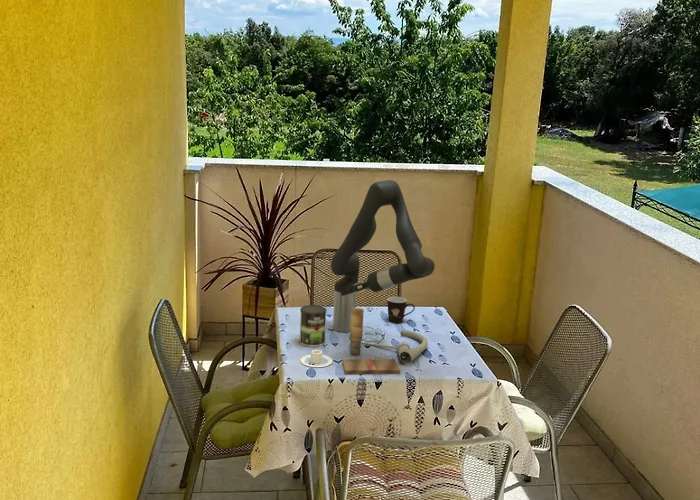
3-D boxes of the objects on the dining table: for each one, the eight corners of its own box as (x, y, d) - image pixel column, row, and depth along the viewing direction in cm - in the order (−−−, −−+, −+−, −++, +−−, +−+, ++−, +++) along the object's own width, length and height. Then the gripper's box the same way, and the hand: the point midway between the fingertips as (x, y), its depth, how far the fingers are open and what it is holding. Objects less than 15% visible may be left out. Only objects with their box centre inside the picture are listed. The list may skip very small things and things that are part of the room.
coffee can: (328, 345, 266) (330, 312, 263) (304, 348, 263) (305, 314, 259) (320, 336, 276) (321, 303, 272) (296, 338, 272) (297, 305, 268)
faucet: (349, 353, 266) (386, 334, 288) (411, 364, 250) (444, 343, 272) (349, 342, 265) (385, 323, 287) (410, 352, 249) (444, 332, 272)
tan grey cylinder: (353, 350, 263) (355, 306, 258) (363, 353, 260) (366, 309, 256) (346, 354, 259) (348, 309, 254) (357, 357, 256) (359, 312, 252)
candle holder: (300, 355, 256) (300, 345, 255) (332, 356, 257) (332, 345, 256) (300, 368, 245) (300, 357, 243) (332, 369, 245) (333, 358, 244)
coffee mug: (382, 321, 297) (383, 299, 294) (392, 316, 304) (393, 295, 301) (404, 327, 290) (406, 305, 288) (414, 322, 297) (416, 301, 295)
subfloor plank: (345, 374, 241) (345, 369, 240) (342, 363, 250) (342, 358, 250) (399, 373, 243) (400, 369, 243) (394, 362, 253) (395, 358, 252)
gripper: (387, 267, 255) (351, 280, 262) (371, 271, 242) (334, 284, 250) (393, 286, 254) (357, 298, 262) (378, 291, 242) (340, 303, 249)
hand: (346, 291), depth 256 cm, fingers open, 8 cm apart
